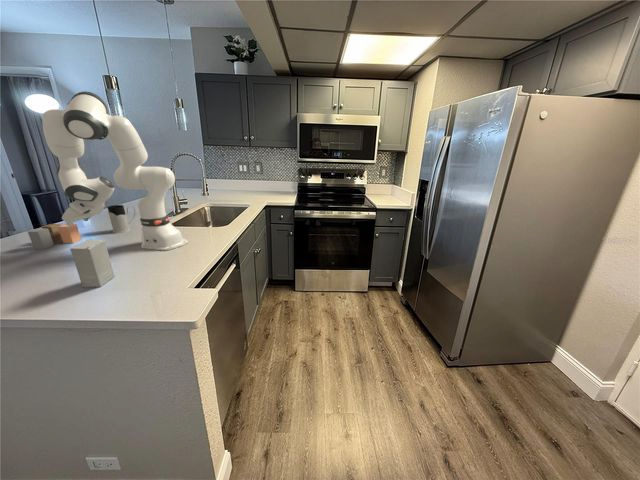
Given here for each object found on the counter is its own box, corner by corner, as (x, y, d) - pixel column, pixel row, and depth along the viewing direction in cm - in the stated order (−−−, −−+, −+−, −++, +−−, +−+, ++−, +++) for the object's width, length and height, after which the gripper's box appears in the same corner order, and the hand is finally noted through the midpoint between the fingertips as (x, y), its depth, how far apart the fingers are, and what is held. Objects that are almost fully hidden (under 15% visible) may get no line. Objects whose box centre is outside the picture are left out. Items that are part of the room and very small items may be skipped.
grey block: (54, 245, 132) (48, 228, 129) (44, 248, 127) (37, 231, 124) (44, 245, 132) (38, 228, 129) (34, 248, 127) (27, 231, 124)
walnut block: (65, 239, 139) (60, 223, 136) (56, 243, 135) (50, 226, 132) (56, 239, 139) (50, 223, 136) (47, 243, 135) (41, 226, 132)
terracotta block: (81, 240, 139) (76, 224, 136) (73, 243, 135) (67, 226, 132) (72, 239, 139) (66, 224, 136) (63, 243, 135) (57, 226, 132)
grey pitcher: (109, 231, 153) (102, 207, 148) (135, 225, 165) (129, 202, 160) (117, 234, 149) (110, 208, 144) (143, 227, 161) (137, 204, 156)
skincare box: (97, 277, 101) (85, 239, 95) (117, 276, 101) (106, 238, 96) (80, 288, 93) (66, 247, 87) (102, 287, 93) (89, 247, 88)
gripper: (101, 195, 138) (88, 213, 142) (66, 203, 119) (52, 224, 122) (112, 204, 140) (98, 221, 143) (79, 213, 121) (65, 232, 124)
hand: (77, 222), depth 133 cm, fingers open, 8 cm apart
